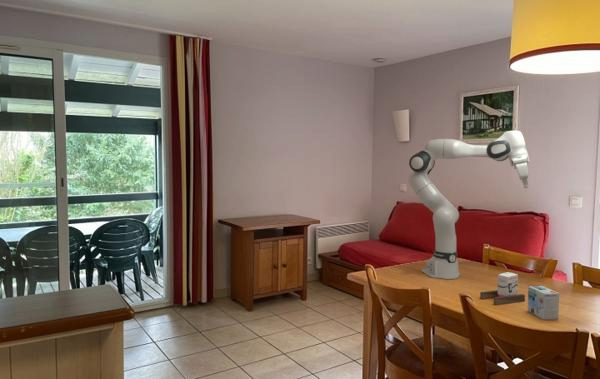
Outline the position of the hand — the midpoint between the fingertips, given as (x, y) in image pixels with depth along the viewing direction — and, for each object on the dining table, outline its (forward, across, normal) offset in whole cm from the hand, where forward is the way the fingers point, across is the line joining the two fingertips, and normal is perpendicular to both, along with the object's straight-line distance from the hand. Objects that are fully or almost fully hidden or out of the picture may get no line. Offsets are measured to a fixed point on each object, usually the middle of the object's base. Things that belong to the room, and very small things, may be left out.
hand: (526, 187), depth 213 cm
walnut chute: (+49, +24, -21) cm, 58 cm away
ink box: (+49, +22, -19) cm, 57 cm away
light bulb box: (+54, +38, -7) cm, 66 cm away
